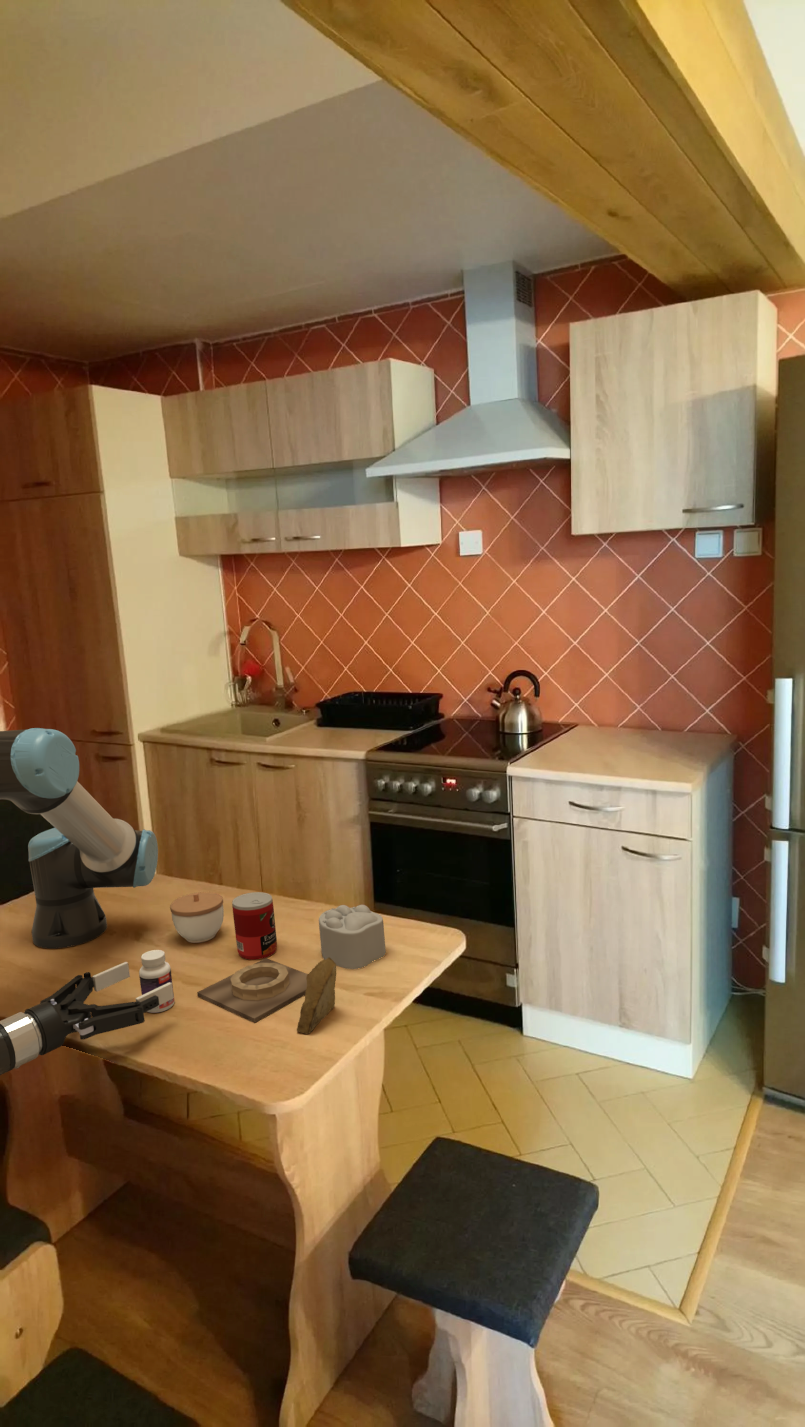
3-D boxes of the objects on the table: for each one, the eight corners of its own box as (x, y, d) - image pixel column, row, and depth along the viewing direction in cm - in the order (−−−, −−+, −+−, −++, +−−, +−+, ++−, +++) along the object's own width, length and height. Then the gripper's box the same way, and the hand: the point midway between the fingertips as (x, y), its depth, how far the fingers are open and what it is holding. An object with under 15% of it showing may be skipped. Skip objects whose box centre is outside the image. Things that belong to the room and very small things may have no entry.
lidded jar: (209, 949, 178) (204, 905, 176) (164, 945, 181) (158, 902, 180) (236, 927, 188) (231, 885, 186) (192, 924, 191) (187, 882, 189)
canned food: (270, 961, 171) (264, 907, 169) (231, 960, 173) (225, 906, 171) (283, 943, 178) (278, 891, 176) (245, 942, 180) (240, 891, 178)
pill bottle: (167, 1014, 153) (160, 961, 152) (138, 1013, 154) (131, 961, 153) (179, 998, 159) (173, 947, 157) (151, 998, 160) (145, 947, 158)
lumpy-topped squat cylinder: (353, 972, 164) (349, 929, 162) (308, 954, 173) (304, 912, 171) (393, 952, 171) (389, 910, 169) (347, 935, 180) (344, 895, 178)
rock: (312, 1031, 140) (359, 998, 147) (284, 983, 142) (331, 953, 148) (288, 1046, 148) (333, 1015, 155) (262, 1001, 150) (307, 972, 156)
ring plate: (197, 996, 159) (195, 981, 158) (266, 961, 171) (264, 948, 170) (254, 1022, 148) (253, 1007, 148) (323, 984, 160) (322, 969, 160)
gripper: (-1, 1031, 148) (113, 980, 163) (74, 1083, 131) (194, 1020, 147) (-8, 989, 146) (108, 942, 162) (67, 1036, 130) (188, 978, 145)
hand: (149, 979), depth 154 cm, fingers open, 13 cm apart
